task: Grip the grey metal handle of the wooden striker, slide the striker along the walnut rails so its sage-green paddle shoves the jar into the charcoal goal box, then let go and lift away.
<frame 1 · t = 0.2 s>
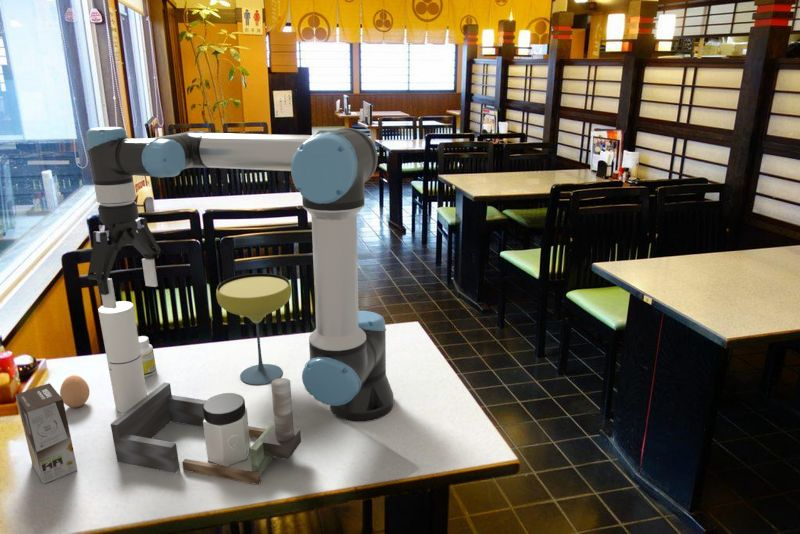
hand: (131, 296, 131), 28 cm above the table, fingers open, 13 cm apart
lane: (208, 449, 124), on the table
jar: (229, 454, 123), resting in lane
egg: (77, 406, 140), on the table
coffee box: (54, 467, 119), on the table
cocktail glass: (261, 375, 154), on the table
cylindrical container: (132, 404, 141), on the table
striker: (277, 422, 117), point 10 cm above the table, slide at 0.0 cm
supplement bottle: (145, 373, 155), on the table
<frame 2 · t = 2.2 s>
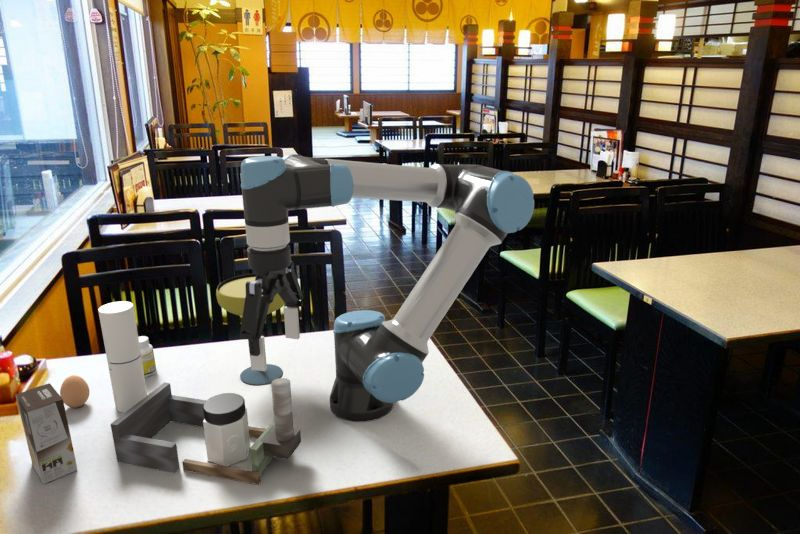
hand: (276, 353, 112), 25 cm above the table, fingers open, 13 cm apart
nothing on the table moved.
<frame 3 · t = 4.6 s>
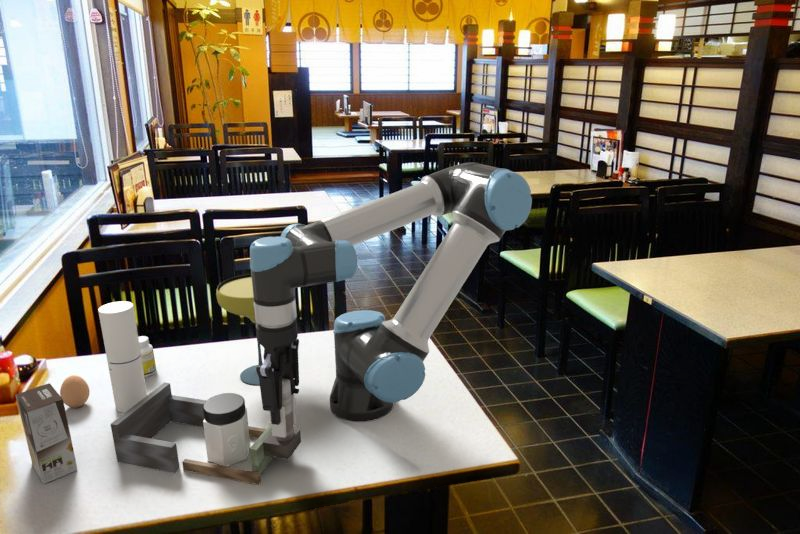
hand: (284, 429, 117), 8 cm above the table, fingers closed on striker, 4 cm apart
striker: (277, 422, 117), point 10 cm above the table, slide at 0.0 cm, touching gripper
everything else where it was.
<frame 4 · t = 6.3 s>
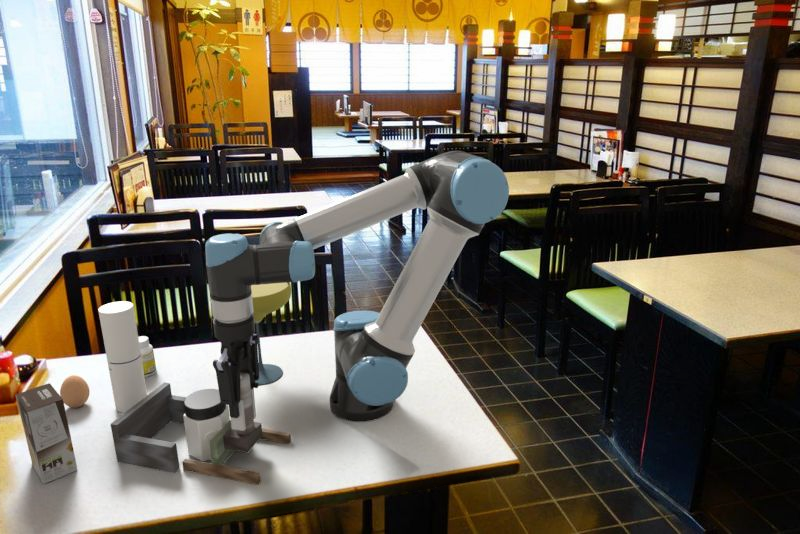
hand: (244, 422, 119), 8 cm above the table, fingers closed on striker, 4 cm apart
jar: (210, 449, 124), resting in lane, touching striker
striker: (237, 415, 119), point 9 cm above the table, slide at 8.8 cm, touching gripper, jar
everything else where it was.
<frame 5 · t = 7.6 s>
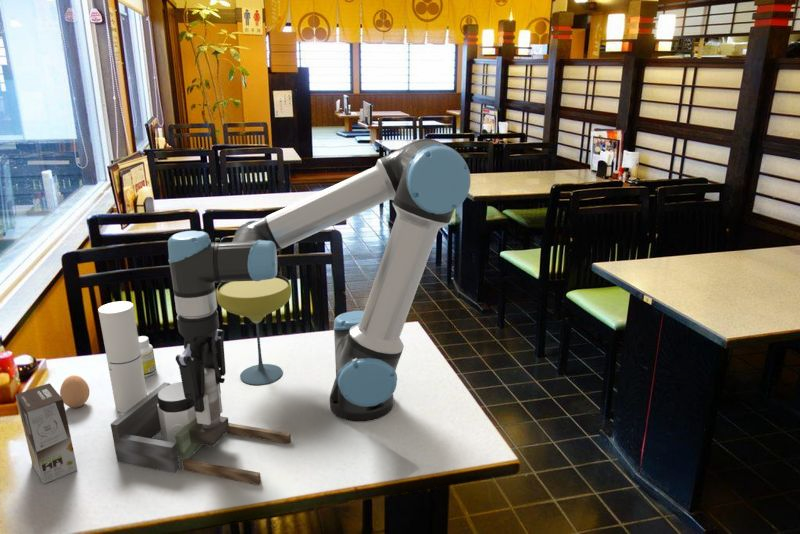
hand: (210, 417, 121), 8 cm above the table, fingers closed on striker, 4 cm apart
jar: (184, 441, 127), resting in lane, touching striker
striker: (204, 410, 121), point 9 cm above the table, slide at 16.5 cm, touching gripper, jar
everything else where it was.
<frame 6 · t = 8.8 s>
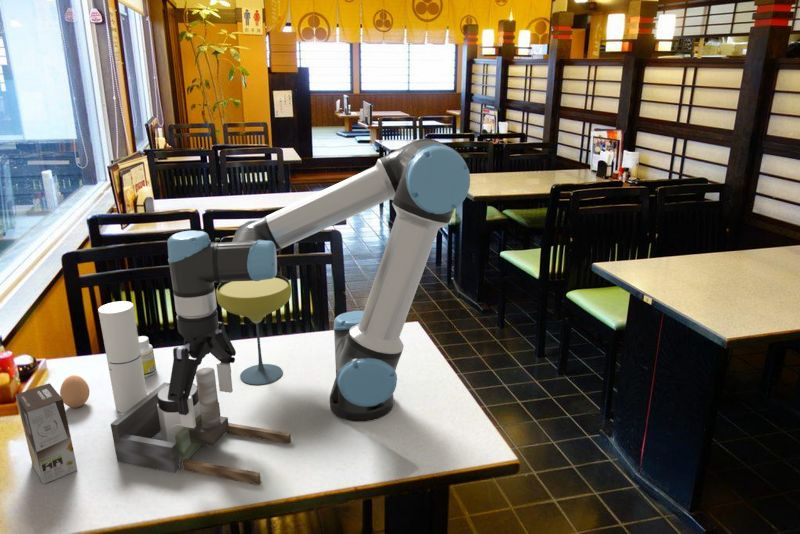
hand: (208, 407, 120), 10 cm above the table, fingers open, 13 cm apart
jar: (184, 441, 127), resting in lane
striker: (203, 410, 121), point 10 cm above the table, slide at 16.5 cm
everything else where it was.
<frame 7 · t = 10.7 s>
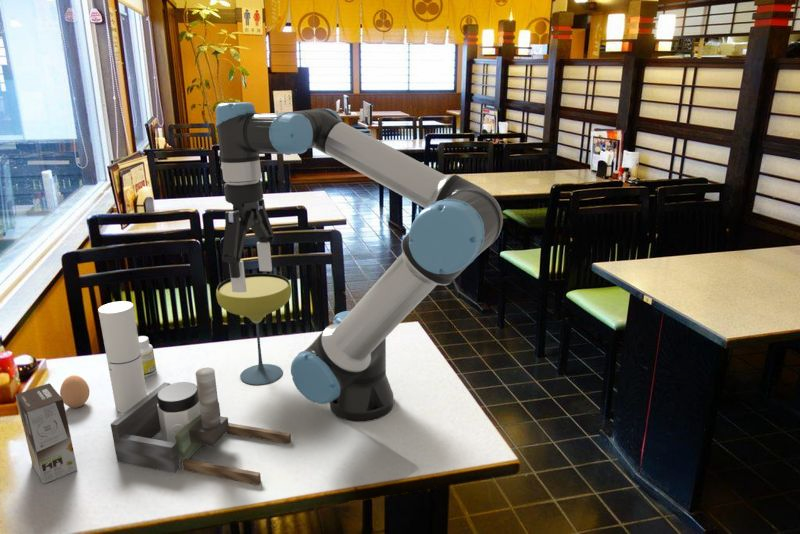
hand: (253, 280, 126), 33 cm above the table, fingers open, 13 cm apart
nothing on the table moved.
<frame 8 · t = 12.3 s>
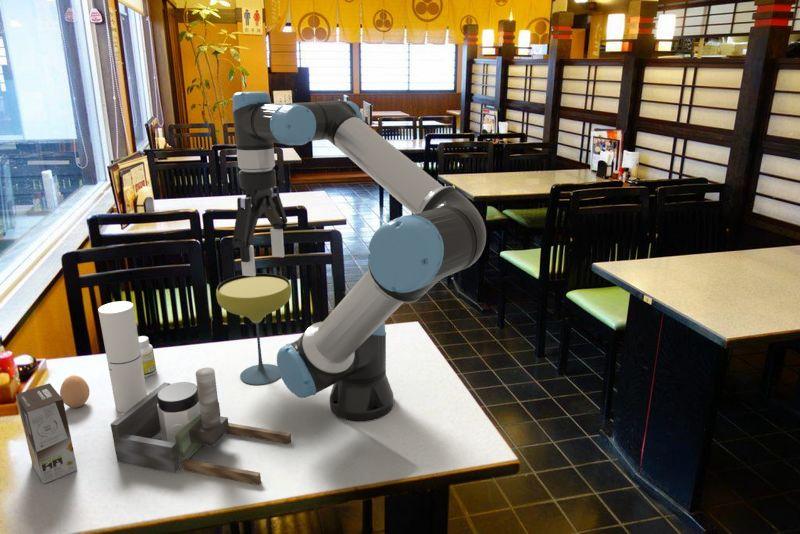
hand: (264, 265, 130), 35 cm above the table, fingers open, 13 cm apart
nothing on the table moved.
at the end: jar inside the target area (3.3 cm from its centre), resting in lane; jar tilted 0°; striker slide at 16.5 cm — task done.
